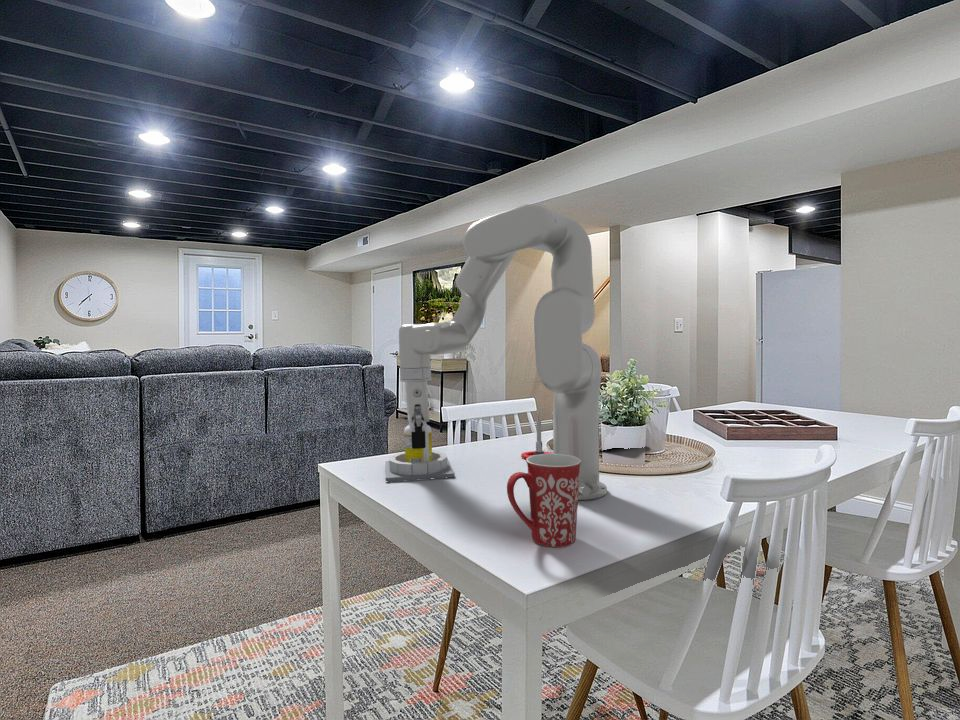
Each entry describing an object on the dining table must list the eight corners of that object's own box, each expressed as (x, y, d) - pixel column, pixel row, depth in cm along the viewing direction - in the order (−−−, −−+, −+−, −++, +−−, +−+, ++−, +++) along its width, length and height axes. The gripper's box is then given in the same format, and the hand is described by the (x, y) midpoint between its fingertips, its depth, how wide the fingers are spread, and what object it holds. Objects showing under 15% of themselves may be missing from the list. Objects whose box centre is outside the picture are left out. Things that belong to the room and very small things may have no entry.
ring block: (454, 477, 132) (454, 462, 131) (385, 482, 129) (385, 467, 129) (447, 461, 147) (446, 448, 147) (385, 465, 145) (385, 451, 144)
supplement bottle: (423, 462, 143) (422, 412, 142) (437, 467, 137) (436, 415, 137) (400, 466, 139) (398, 415, 138) (414, 472, 133) (412, 418, 133)
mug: (567, 526, 99) (566, 451, 98) (591, 545, 90) (590, 463, 89) (499, 535, 95) (497, 457, 95) (518, 556, 87) (516, 470, 86)
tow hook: (519, 455, 154) (523, 462, 145) (519, 408, 154) (522, 412, 144) (550, 455, 154) (555, 461, 145) (549, 408, 154) (555, 412, 145)
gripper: (433, 377, 129) (435, 450, 130) (428, 371, 146) (430, 436, 147) (401, 378, 127) (403, 452, 129) (399, 372, 144) (401, 437, 146)
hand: (417, 443), depth 138 cm, fingers open, 9 cm apart
